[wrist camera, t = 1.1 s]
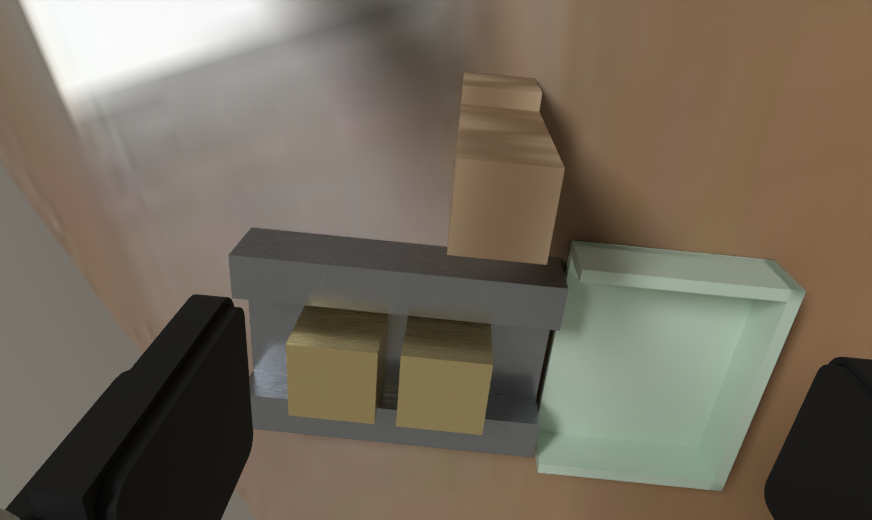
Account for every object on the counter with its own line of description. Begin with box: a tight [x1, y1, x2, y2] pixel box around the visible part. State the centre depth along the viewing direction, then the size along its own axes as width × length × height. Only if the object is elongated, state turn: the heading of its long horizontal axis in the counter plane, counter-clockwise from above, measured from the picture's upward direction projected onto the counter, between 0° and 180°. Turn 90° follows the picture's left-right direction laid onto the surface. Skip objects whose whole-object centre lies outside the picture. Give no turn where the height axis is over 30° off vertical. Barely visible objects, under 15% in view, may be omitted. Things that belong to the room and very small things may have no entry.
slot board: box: [229, 228, 569, 457], centre depth 30 cm, size 15×10×3 cm, turn 85°
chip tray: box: [535, 240, 806, 491], centre depth 29 cm, size 10×12×3 cm
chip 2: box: [396, 316, 493, 435], centre depth 28 cm, size 4×4×4 cm
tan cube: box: [286, 305, 389, 424], centre depth 28 cm, size 4×4×4 cm
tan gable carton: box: [447, 72, 565, 265], centre depth 22 cm, size 3×4×10 cm
